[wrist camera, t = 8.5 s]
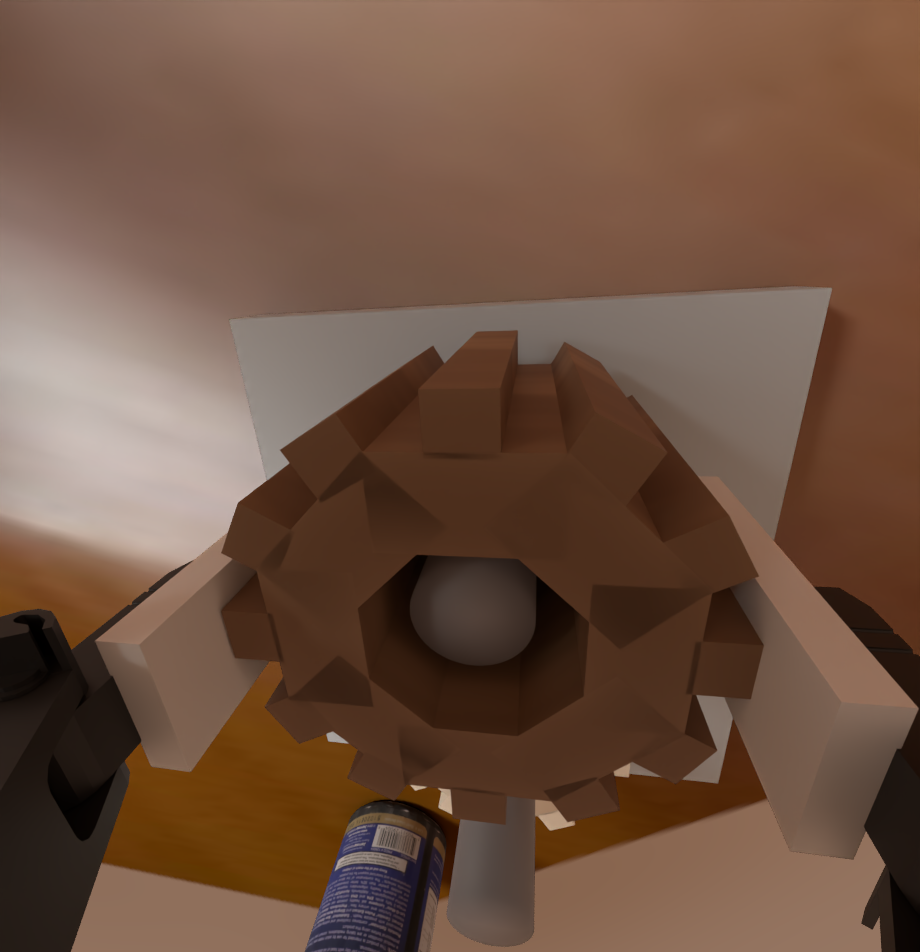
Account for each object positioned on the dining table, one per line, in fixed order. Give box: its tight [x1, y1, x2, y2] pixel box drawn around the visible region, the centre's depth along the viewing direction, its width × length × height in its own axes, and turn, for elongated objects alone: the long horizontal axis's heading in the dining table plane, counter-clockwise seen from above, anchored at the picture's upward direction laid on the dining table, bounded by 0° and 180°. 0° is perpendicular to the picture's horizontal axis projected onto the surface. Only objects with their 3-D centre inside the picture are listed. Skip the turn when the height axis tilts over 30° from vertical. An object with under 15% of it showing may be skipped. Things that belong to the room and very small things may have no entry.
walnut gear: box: [221, 330, 764, 825], centre depth 11 cm, size 9×9×7 cm
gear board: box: [229, 286, 832, 947], centre depth 15 cm, size 18×20×10 cm
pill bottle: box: [305, 801, 446, 952], centre depth 24 cm, size 6×6×11 cm
